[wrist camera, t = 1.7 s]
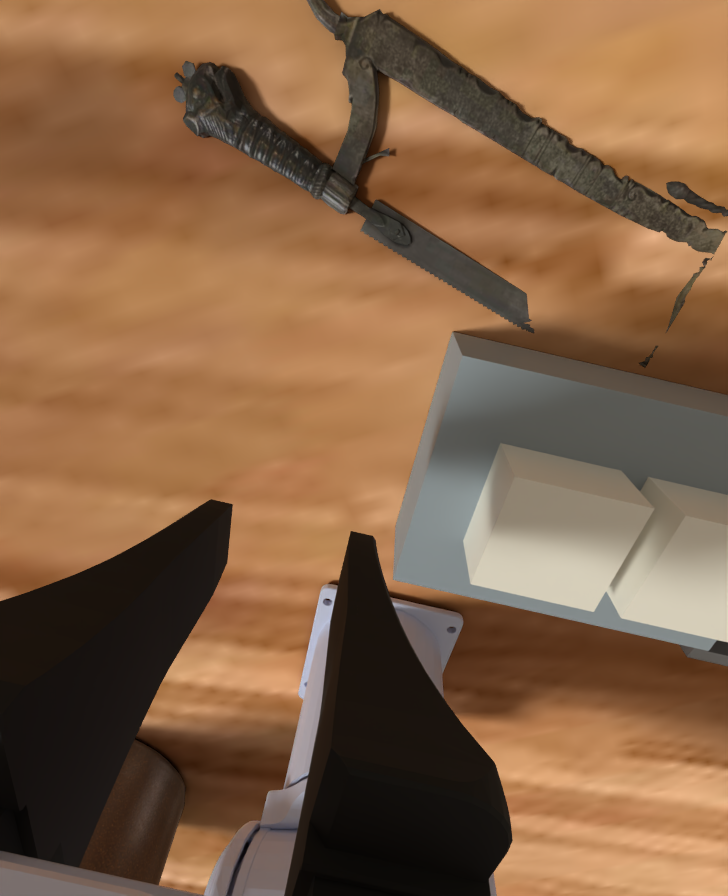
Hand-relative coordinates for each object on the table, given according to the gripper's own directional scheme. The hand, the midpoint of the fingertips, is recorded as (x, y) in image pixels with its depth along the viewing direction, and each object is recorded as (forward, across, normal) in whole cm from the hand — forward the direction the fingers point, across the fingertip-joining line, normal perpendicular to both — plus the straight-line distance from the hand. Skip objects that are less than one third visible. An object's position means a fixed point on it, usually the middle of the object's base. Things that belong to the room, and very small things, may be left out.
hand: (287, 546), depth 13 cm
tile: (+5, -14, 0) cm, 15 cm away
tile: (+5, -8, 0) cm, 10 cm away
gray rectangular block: (+9, -11, 0) cm, 14 cm away
